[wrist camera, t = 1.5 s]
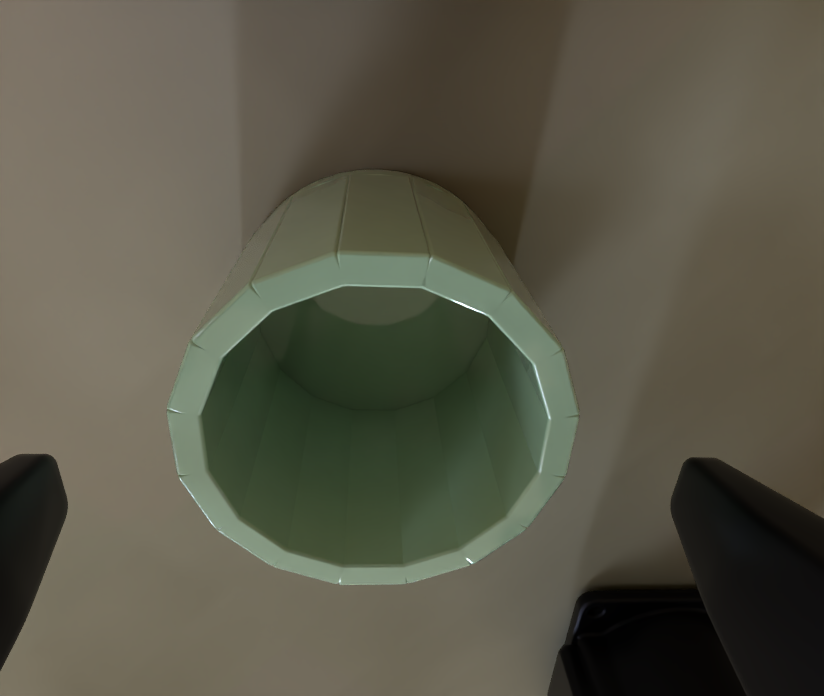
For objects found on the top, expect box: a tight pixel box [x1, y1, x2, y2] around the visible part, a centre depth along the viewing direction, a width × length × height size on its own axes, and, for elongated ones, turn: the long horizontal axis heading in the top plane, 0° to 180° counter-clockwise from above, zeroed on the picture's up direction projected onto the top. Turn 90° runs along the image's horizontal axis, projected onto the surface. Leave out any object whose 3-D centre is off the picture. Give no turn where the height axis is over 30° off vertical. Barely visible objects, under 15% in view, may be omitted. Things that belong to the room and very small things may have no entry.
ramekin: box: [167, 169, 580, 585], centre depth 11 cm, size 6×6×6 cm
